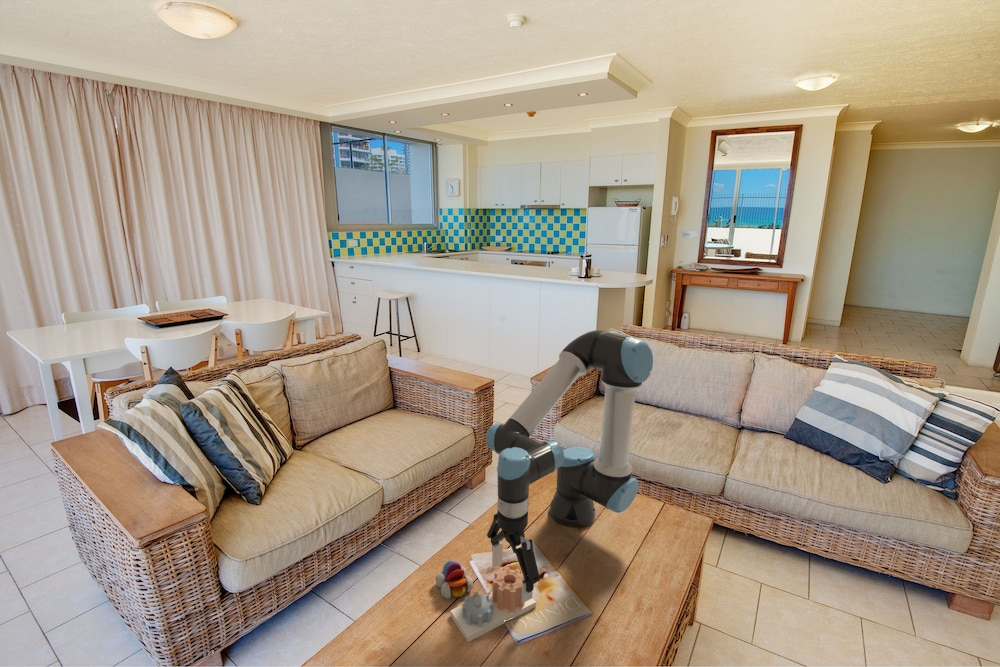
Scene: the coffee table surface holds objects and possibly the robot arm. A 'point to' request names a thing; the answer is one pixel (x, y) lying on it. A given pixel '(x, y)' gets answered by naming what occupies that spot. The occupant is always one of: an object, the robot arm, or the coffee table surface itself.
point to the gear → (508, 589)
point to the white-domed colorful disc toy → (453, 580)
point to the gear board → (494, 618)
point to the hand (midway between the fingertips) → (511, 581)
